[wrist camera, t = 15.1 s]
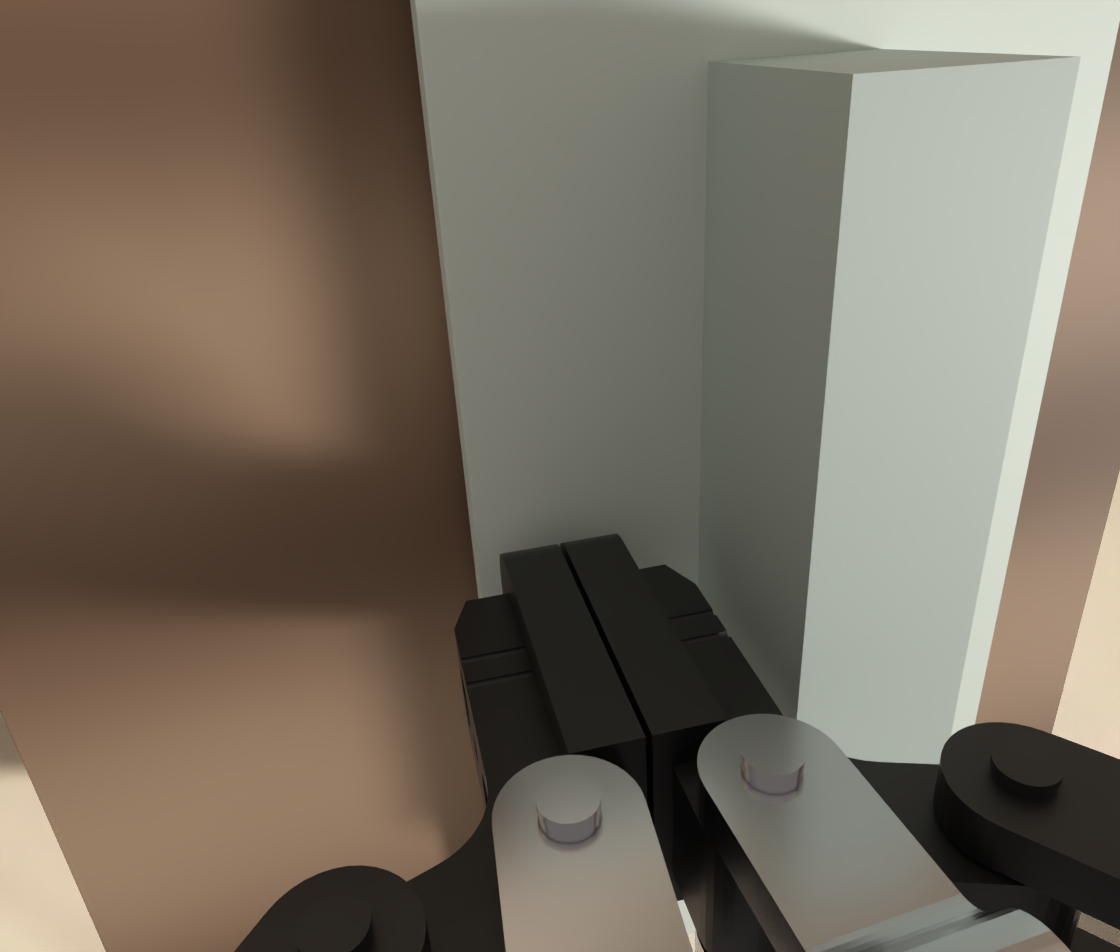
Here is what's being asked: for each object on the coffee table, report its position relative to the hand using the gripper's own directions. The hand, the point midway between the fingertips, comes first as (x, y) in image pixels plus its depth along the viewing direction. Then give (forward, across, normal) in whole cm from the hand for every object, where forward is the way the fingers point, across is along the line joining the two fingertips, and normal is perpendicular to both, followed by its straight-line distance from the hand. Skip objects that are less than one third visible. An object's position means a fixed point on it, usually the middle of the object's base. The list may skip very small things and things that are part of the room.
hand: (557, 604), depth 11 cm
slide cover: (+1, -3, 0) cm, 3 cm away
